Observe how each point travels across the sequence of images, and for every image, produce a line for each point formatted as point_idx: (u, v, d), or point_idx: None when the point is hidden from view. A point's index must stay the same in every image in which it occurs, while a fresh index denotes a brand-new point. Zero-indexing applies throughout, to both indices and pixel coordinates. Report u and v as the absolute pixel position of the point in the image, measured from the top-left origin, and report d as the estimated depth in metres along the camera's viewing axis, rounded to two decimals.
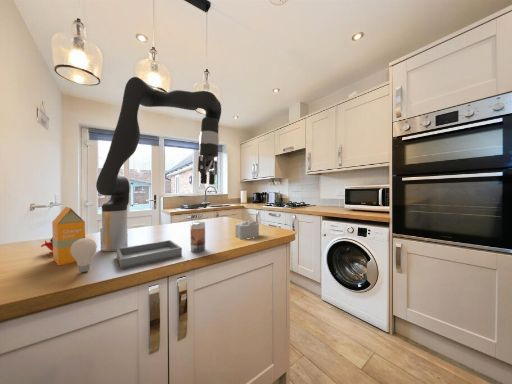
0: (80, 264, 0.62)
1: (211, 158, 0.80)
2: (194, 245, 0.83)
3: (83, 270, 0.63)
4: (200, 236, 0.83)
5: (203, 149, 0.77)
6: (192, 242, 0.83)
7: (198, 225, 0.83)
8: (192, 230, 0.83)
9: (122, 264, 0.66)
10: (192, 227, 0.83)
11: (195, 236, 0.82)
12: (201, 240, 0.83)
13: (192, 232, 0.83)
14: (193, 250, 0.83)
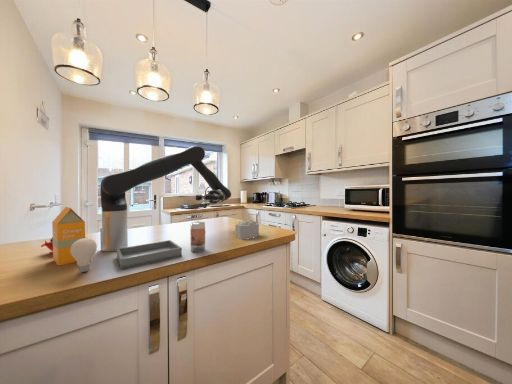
0: (80, 264, 0.62)
1: None
2: (194, 245, 0.83)
3: (83, 270, 0.63)
4: (200, 236, 0.83)
5: (220, 195, 1.09)
6: (192, 242, 0.83)
7: (198, 225, 0.83)
8: (192, 230, 0.83)
9: (122, 264, 0.66)
10: (192, 227, 0.83)
11: (195, 236, 0.83)
12: (201, 240, 0.83)
13: (192, 232, 0.83)
14: (193, 250, 0.83)
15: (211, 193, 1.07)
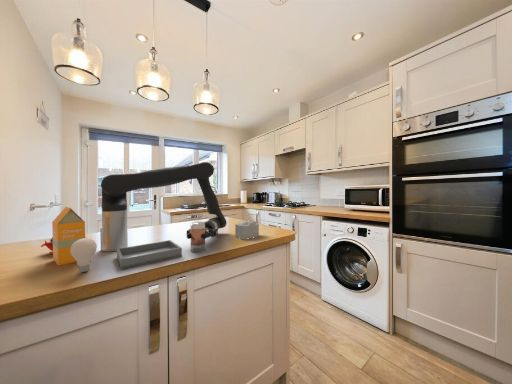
0: (80, 264, 0.62)
1: None
2: (194, 245, 0.83)
3: (83, 270, 0.63)
4: (200, 236, 0.83)
5: (213, 228, 0.97)
6: (192, 242, 0.83)
7: (198, 225, 0.83)
8: (192, 230, 0.83)
9: (122, 264, 0.66)
10: (192, 227, 0.83)
11: (195, 236, 0.82)
12: (201, 240, 0.83)
13: (192, 232, 0.83)
14: (193, 250, 0.83)
15: None
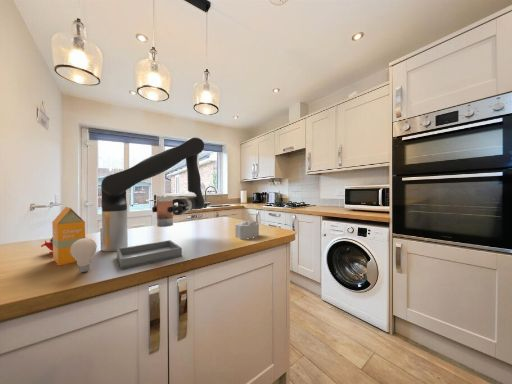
0: (80, 264, 0.62)
1: None
2: (159, 219, 0.77)
3: (83, 270, 0.63)
4: (166, 209, 0.77)
5: (185, 204, 0.91)
6: (158, 216, 0.77)
7: (164, 197, 0.77)
8: (158, 203, 0.77)
9: (122, 264, 0.66)
10: (157, 199, 0.77)
11: (161, 209, 0.77)
12: (167, 213, 0.78)
13: (157, 205, 0.77)
14: (159, 224, 0.77)
15: (174, 202, 0.89)
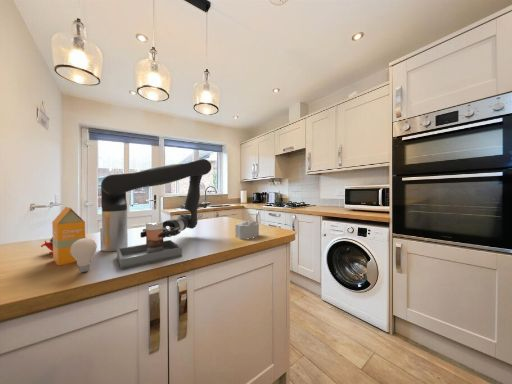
0: (80, 264, 0.62)
1: None
2: (149, 247, 0.76)
3: (83, 270, 0.63)
4: (156, 237, 0.76)
5: (177, 226, 0.90)
6: (147, 244, 0.76)
7: (153, 226, 0.76)
8: (147, 232, 0.76)
9: (122, 264, 0.66)
10: (147, 228, 0.76)
11: (150, 237, 0.76)
12: (157, 242, 0.77)
13: (147, 233, 0.76)
14: None
15: (165, 224, 0.88)
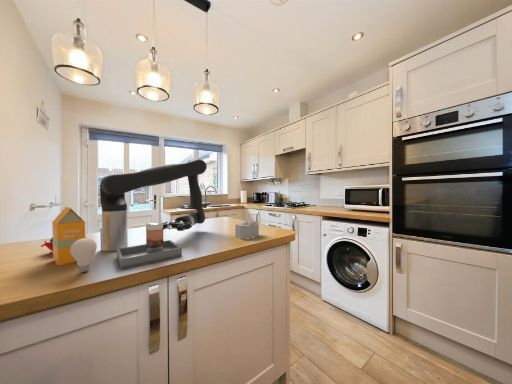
0: (80, 264, 0.62)
1: None
2: (149, 248, 0.76)
3: (83, 270, 0.63)
4: (156, 238, 0.76)
5: (189, 221, 1.03)
6: (147, 244, 0.76)
7: (153, 226, 0.76)
8: (147, 232, 0.76)
9: (122, 264, 0.66)
10: (147, 228, 0.76)
11: (150, 237, 0.76)
12: (157, 242, 0.77)
13: (147, 233, 0.76)
14: None
15: (178, 220, 1.01)
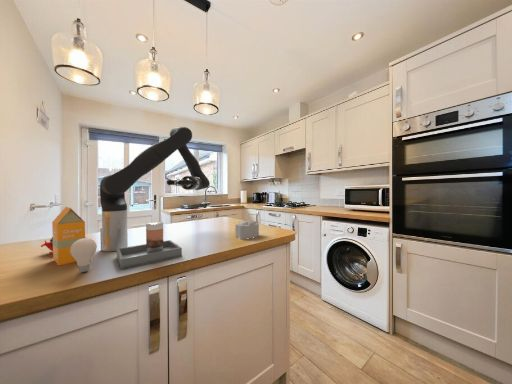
0: (80, 264, 0.62)
1: (185, 184, 1.04)
2: (149, 248, 0.76)
3: (83, 270, 0.63)
4: (156, 238, 0.76)
5: None
6: (147, 244, 0.76)
7: (153, 226, 0.76)
8: (147, 232, 0.76)
9: (122, 264, 0.66)
10: (147, 228, 0.76)
11: (150, 237, 0.76)
12: (157, 242, 0.77)
13: (147, 233, 0.76)
14: None
15: (185, 179, 1.05)
